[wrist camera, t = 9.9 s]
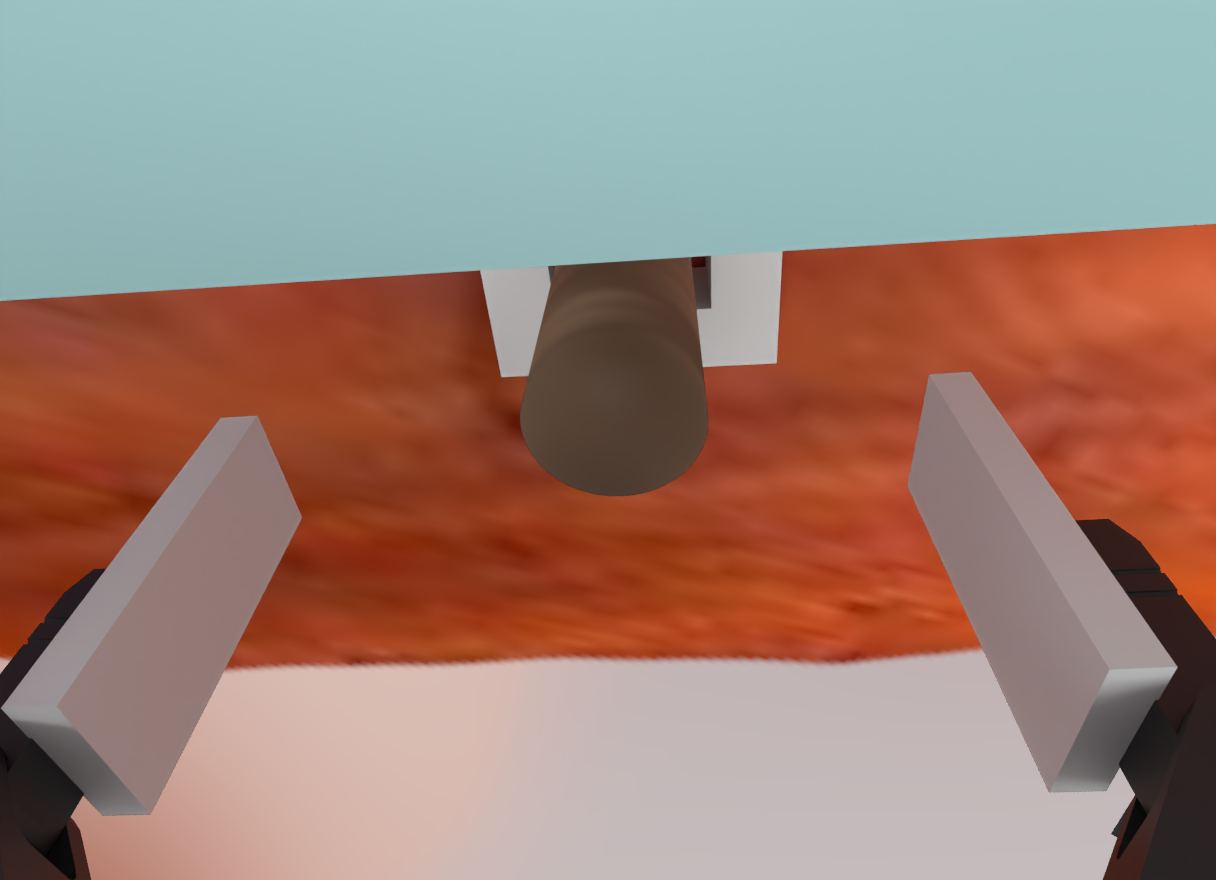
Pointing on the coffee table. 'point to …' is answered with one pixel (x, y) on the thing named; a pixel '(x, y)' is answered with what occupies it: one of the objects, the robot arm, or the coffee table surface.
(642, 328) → the peg
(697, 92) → the station
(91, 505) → the coffee table surface
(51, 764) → the robot arm
